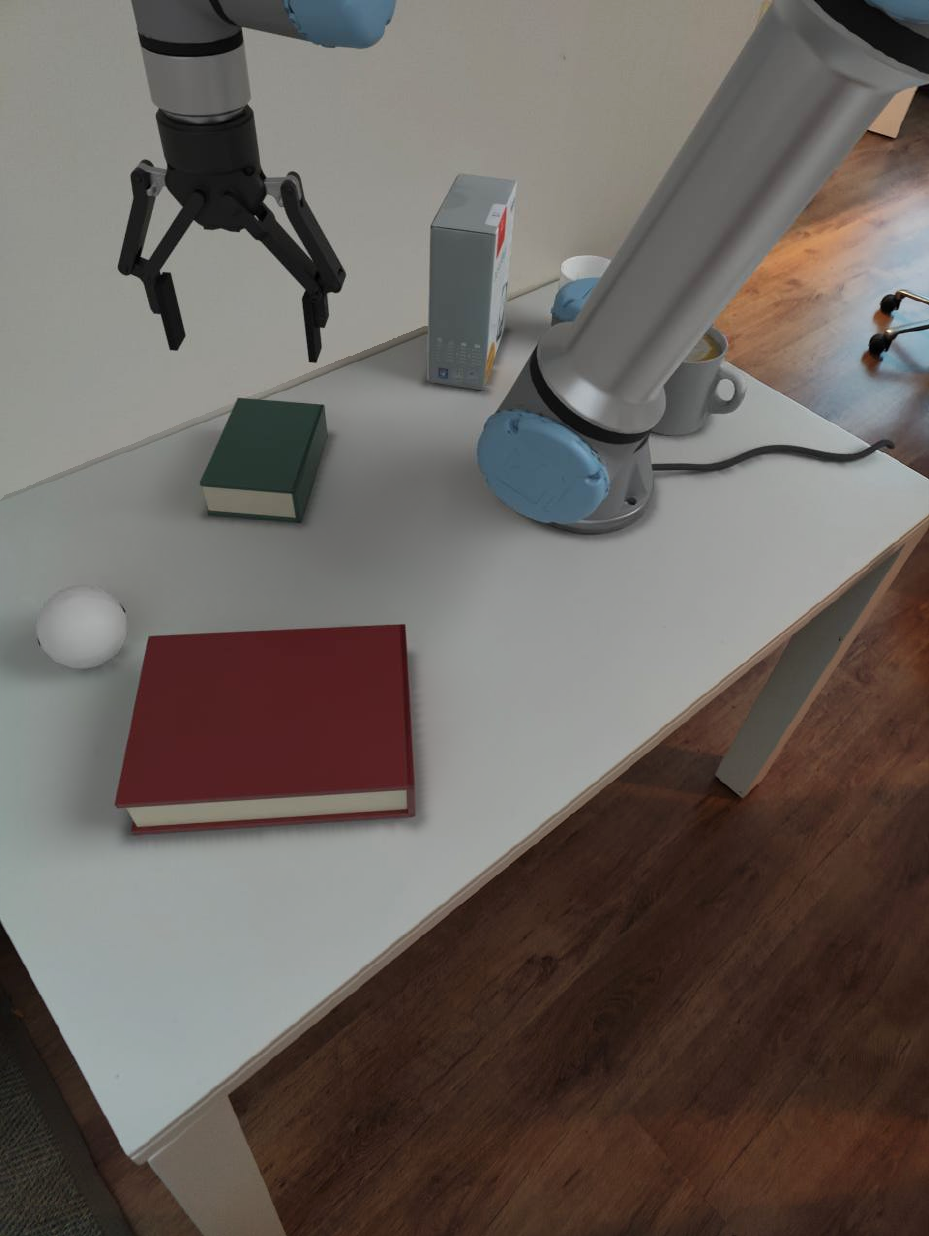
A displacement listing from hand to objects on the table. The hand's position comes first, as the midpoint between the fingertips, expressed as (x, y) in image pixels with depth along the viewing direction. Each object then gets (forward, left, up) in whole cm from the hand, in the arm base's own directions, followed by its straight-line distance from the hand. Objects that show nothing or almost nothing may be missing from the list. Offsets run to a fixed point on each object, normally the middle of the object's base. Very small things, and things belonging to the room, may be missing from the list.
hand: (246, 349), depth 80 cm
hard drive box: (-20, -27, -16) cm, 37 cm away
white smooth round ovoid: (+11, +26, -16) cm, 32 cm away
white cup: (-35, -33, -16) cm, 51 cm away
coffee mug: (-47, -17, -16) cm, 53 cm away
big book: (-9, +34, -16) cm, 39 cm away
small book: (0, 0, -16) cm, 16 cm away
